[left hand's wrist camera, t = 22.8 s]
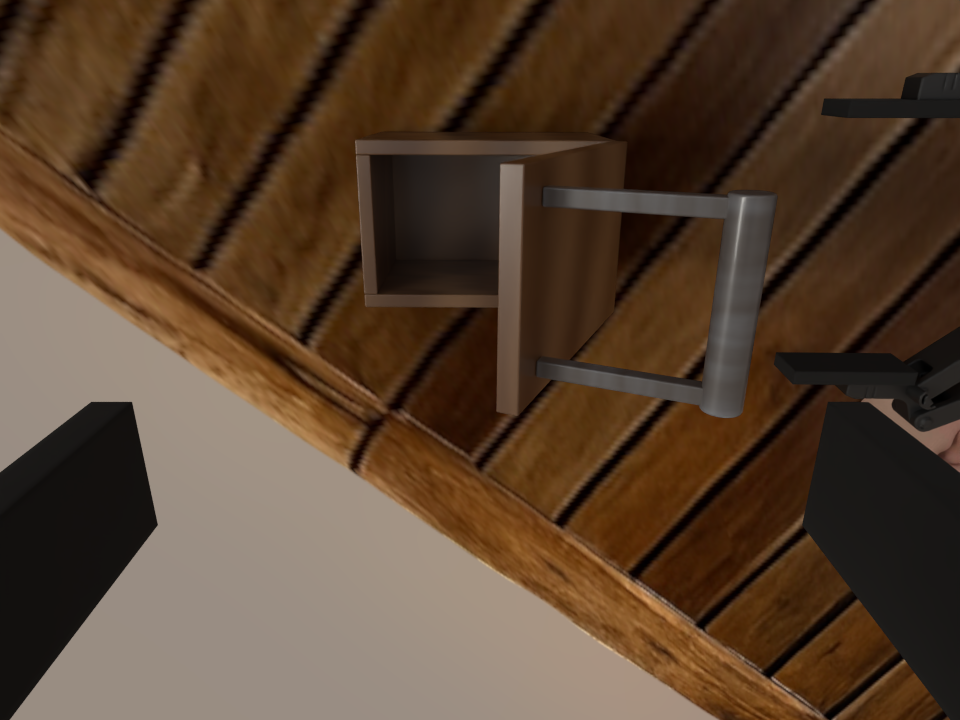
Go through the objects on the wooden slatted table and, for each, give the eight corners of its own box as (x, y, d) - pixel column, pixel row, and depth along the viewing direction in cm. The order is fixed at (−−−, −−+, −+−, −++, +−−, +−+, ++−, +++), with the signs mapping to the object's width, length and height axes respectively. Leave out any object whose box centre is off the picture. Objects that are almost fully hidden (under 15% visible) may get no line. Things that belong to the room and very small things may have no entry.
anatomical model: (848, 506, 49) (903, 364, 45) (822, 478, 53) (871, 344, 49) (1018, 525, 50) (1087, 387, 46) (981, 496, 54) (1042, 366, 50)
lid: (495, 412, 25) (733, 460, 22) (499, 162, 22) (779, 174, 19) (598, 309, 38) (759, 330, 34) (610, 141, 34) (790, 145, 31)
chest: (387, 267, 47) (365, 307, 38) (380, 131, 44) (354, 139, 35) (580, 268, 47) (604, 308, 38) (588, 132, 44) (617, 140, 35)
